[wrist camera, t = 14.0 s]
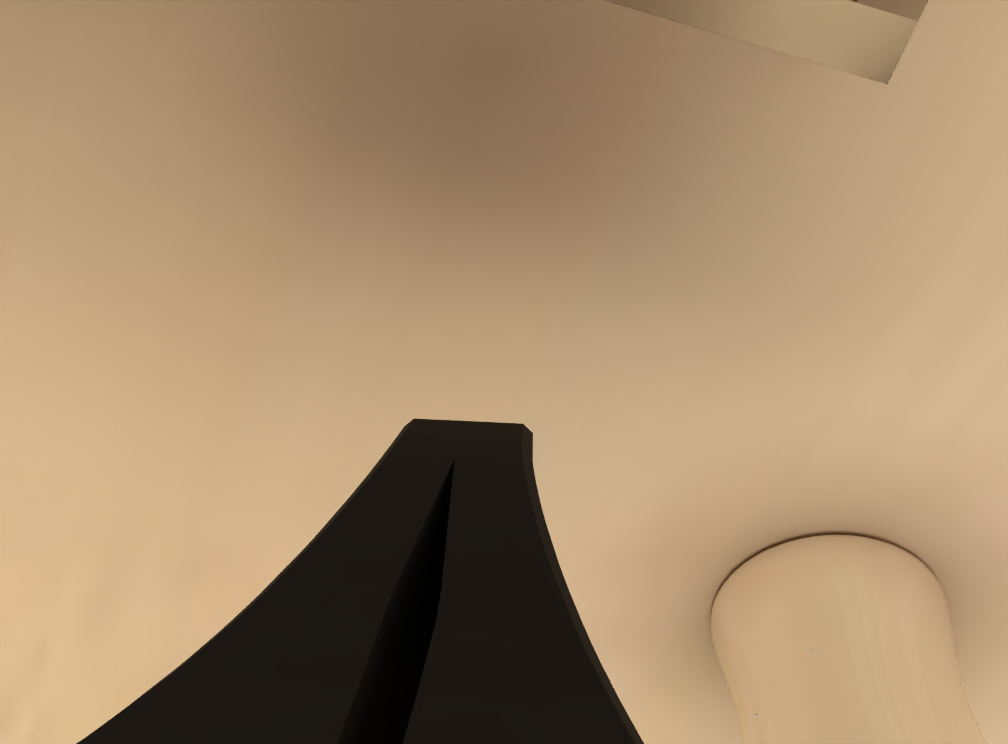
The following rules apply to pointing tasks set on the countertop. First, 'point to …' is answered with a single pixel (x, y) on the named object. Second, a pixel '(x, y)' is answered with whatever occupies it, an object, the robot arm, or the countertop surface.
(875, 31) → the brown divided tray
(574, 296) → the countertop surface
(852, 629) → the beer glass
